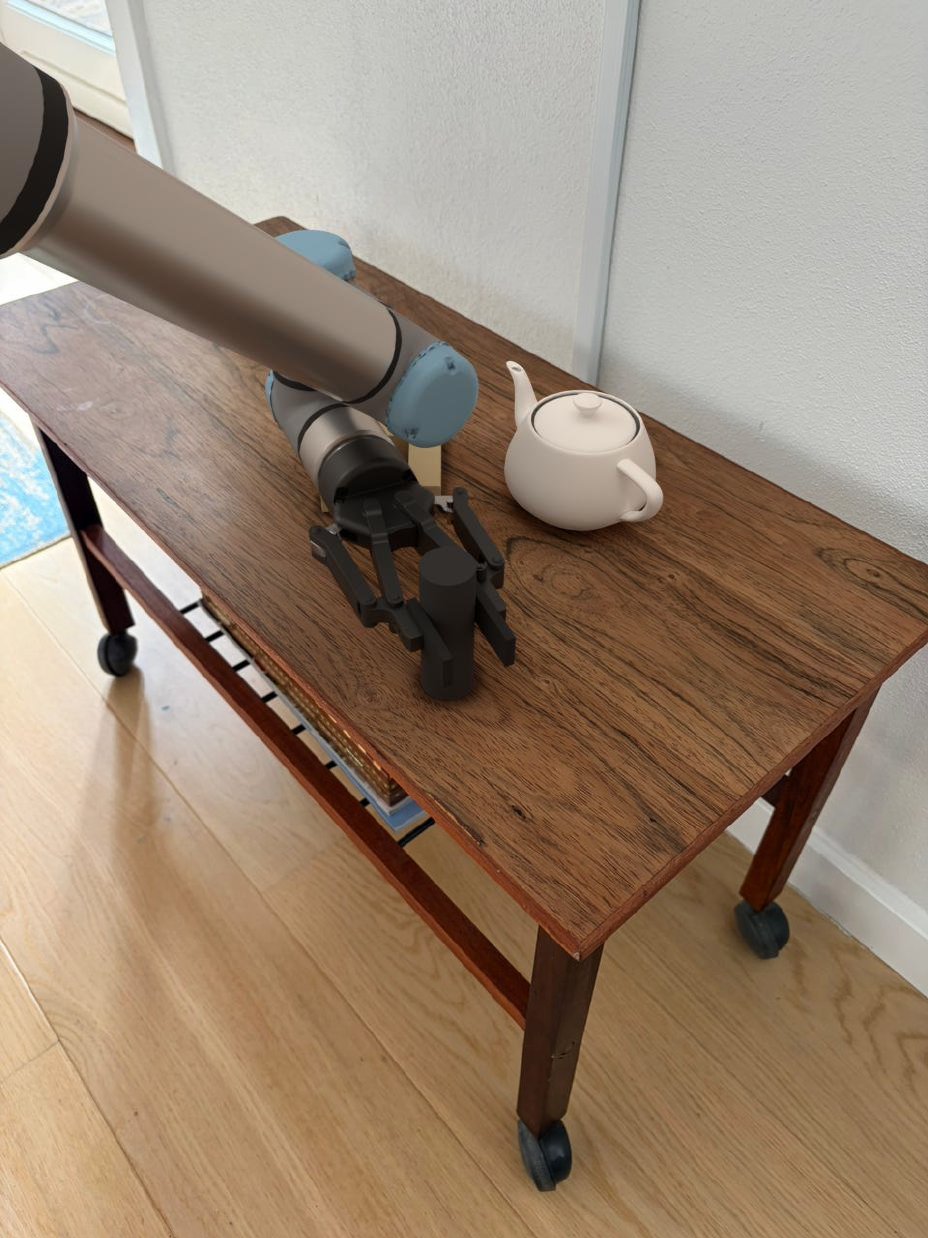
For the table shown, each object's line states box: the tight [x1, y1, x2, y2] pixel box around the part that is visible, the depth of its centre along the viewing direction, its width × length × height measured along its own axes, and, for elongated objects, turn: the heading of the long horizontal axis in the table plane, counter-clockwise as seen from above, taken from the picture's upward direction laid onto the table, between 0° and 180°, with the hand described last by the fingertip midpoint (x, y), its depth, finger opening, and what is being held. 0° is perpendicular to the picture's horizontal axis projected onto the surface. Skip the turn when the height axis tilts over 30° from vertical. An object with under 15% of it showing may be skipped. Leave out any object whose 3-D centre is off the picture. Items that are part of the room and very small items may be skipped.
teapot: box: [503, 360, 664, 532], centre depth 91 cm, size 22×14×11 cm, turn 33°
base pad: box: [319, 422, 442, 513], centre depth 96 cm, size 11×11×3 cm
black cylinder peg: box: [417, 547, 477, 702], centre depth 74 cm, size 4×4×12 cm
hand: (479, 662), depth 70 cm, fingers closed on black cylinder peg, 4 cm apart
